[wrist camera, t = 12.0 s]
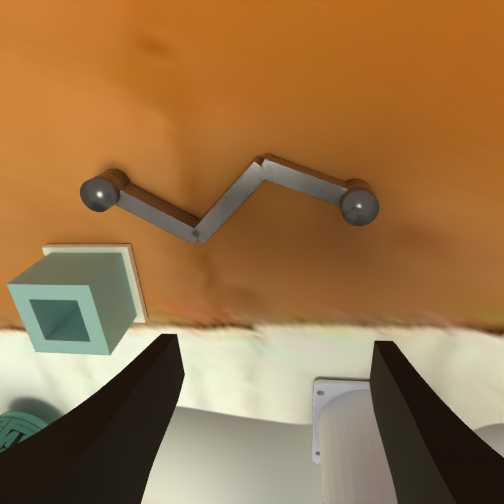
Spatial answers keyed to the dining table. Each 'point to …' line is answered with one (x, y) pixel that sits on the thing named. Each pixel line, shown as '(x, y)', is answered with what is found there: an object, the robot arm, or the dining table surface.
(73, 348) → the hollow square tube
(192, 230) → the grey zigzag bar
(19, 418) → the beverage bottle
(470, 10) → the dining table surface
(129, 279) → the coaster
